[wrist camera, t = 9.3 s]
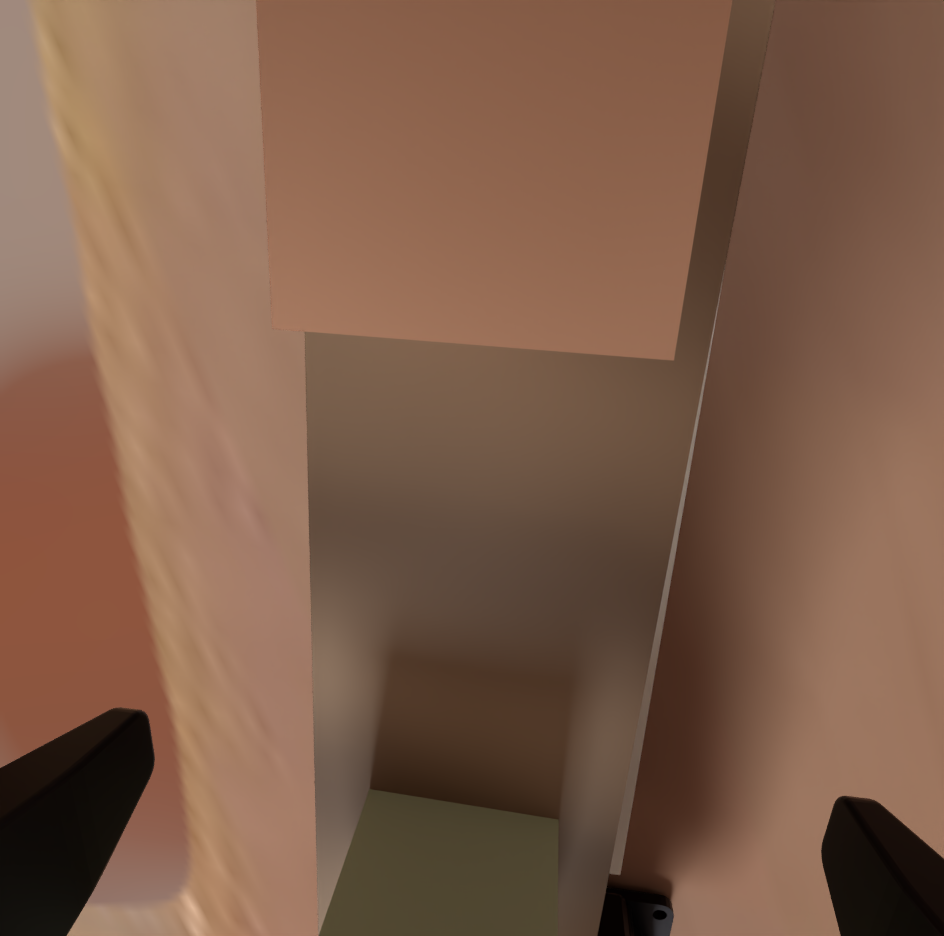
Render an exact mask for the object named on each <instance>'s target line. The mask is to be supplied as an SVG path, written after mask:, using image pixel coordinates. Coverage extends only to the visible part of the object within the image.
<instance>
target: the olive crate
mask: <svg viewBox="0 0 944 936" xmlns="http://www.w3.org/2000/svg"><path fill="white" fill-rule="evenodd" d="M558 832H559V820H558V819H552V818H545V817H539V816H533V815H527V814H521V813H514V812H508V811H502V810H496V809H490V808H483V807H477V806H471V805H465V804H459V803H453V802H446V801H440V800H434V799H428V798H422V797H415V796H409V795H403V794H397V793H391V792H385V791H378V790H372V789H369V792H368V795H367V798H366V800H365V803H364V806H363V809H362V812H361V815H360V818H359V821H358V824H357V826H356V829H355V832H354V835H353V838H352V841H351V844H350V847H349V849H348V852H347V855H346V858H345V861H344V864H343V867H342V870H341V873H340V875H339V878H338V881H337V884H336V887H335V890H334V893H333V896H332V899H331V901H330V904H329V907H328V910H327V913H326V916H325V919H324V922H323V925H322V927H321V930H320V933H319V936H558Z"/></svg>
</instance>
